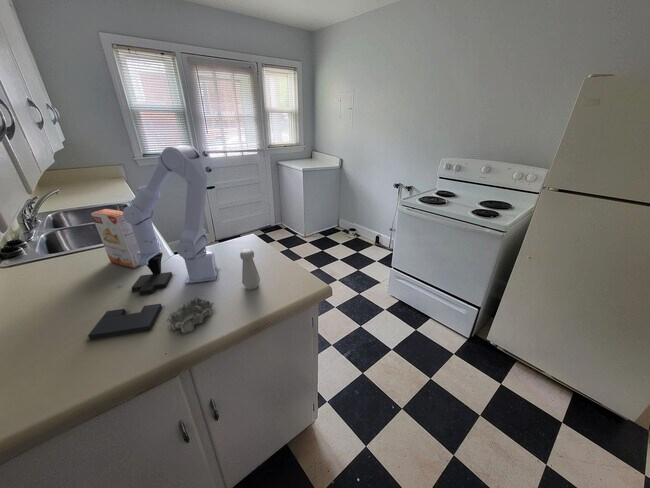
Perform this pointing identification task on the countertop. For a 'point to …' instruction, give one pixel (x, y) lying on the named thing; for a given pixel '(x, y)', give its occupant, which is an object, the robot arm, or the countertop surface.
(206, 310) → the egg carton
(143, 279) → the black pad
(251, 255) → the salt shaker
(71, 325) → the countertop surface
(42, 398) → the countertop surface
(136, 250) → the cracker box
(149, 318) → the charcoal pad
